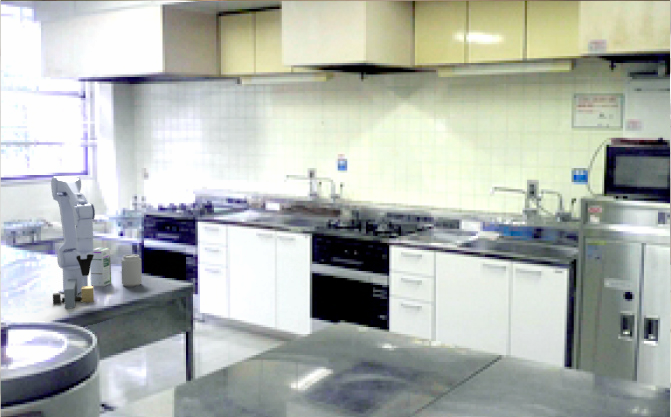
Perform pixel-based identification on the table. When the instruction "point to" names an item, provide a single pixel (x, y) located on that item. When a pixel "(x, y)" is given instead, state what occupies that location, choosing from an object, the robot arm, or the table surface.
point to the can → (131, 270)
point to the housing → (70, 293)
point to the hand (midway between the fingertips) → (85, 275)
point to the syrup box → (100, 267)
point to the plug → (86, 297)
